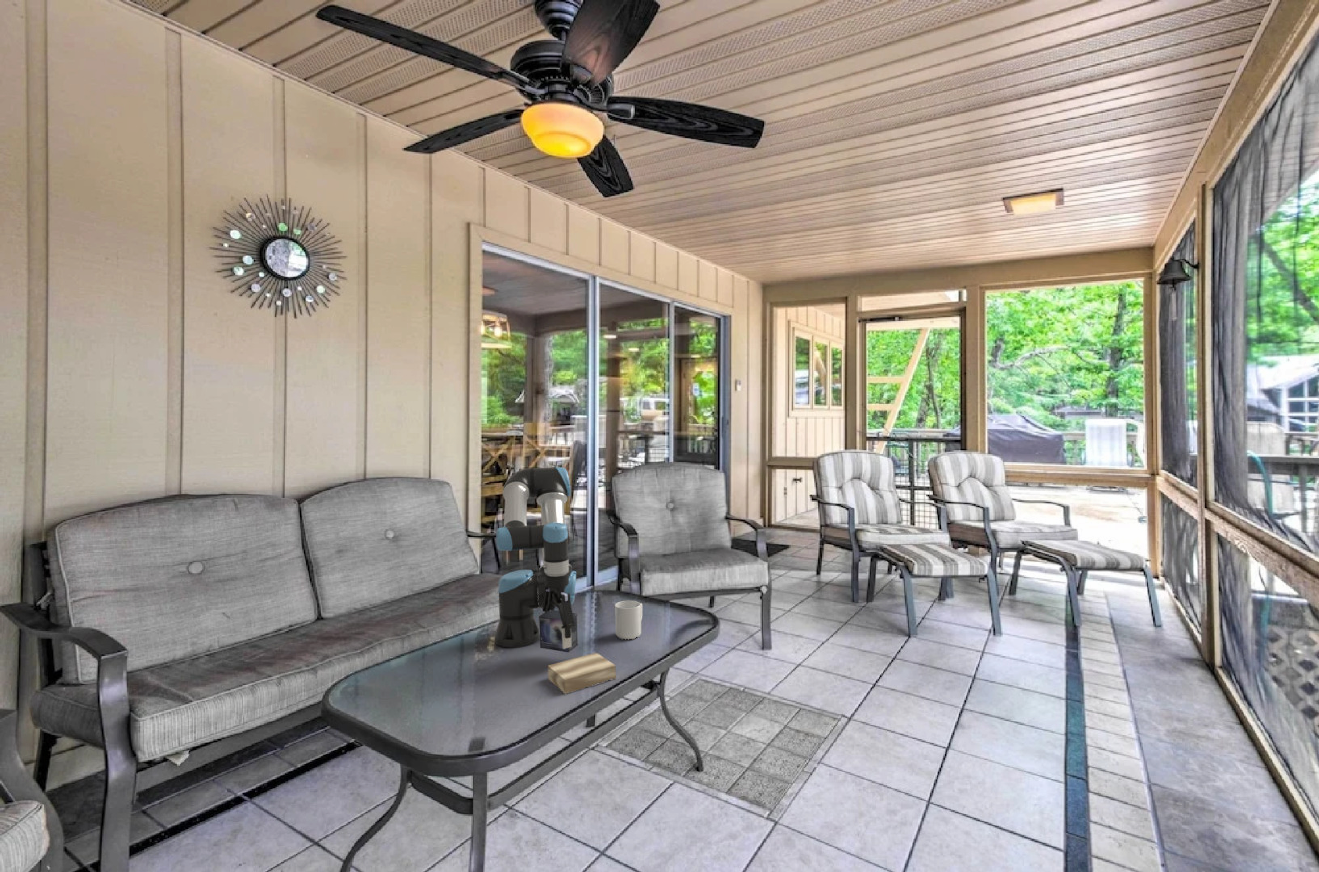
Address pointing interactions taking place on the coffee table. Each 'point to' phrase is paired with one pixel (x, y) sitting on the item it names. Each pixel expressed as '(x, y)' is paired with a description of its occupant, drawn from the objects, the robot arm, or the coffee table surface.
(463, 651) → the coffee table surface
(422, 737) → the coffee table surface
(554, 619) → the small box
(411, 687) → the coffee table surface
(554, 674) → the wooden block
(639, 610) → the mug
